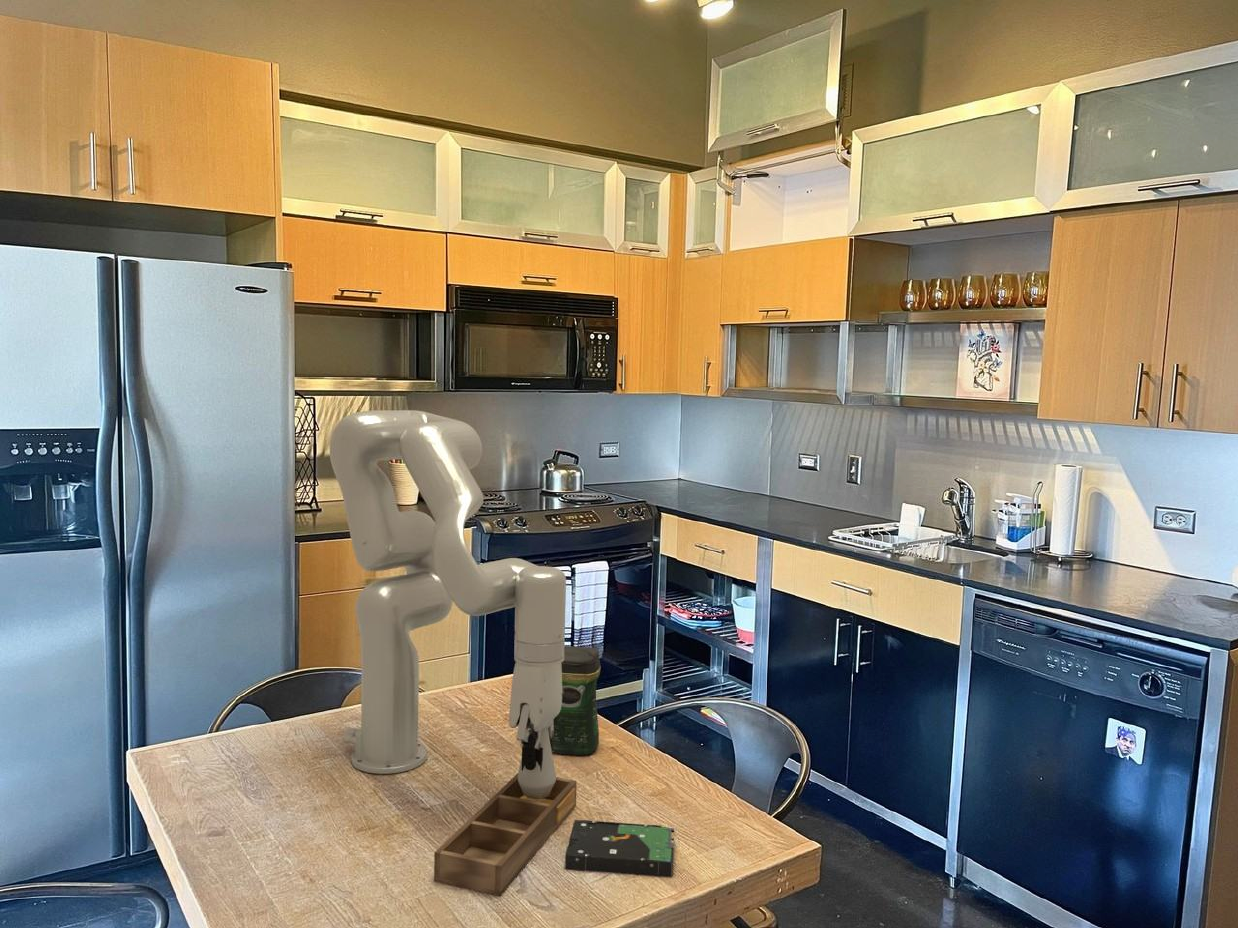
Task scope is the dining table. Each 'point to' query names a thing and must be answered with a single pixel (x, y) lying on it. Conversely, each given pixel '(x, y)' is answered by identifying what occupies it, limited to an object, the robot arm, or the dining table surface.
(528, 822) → the wooden compartment tray
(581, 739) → the coffee jar
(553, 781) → the salt shaker
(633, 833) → the disk drive
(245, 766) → the dining table surface
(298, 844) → the dining table surface
